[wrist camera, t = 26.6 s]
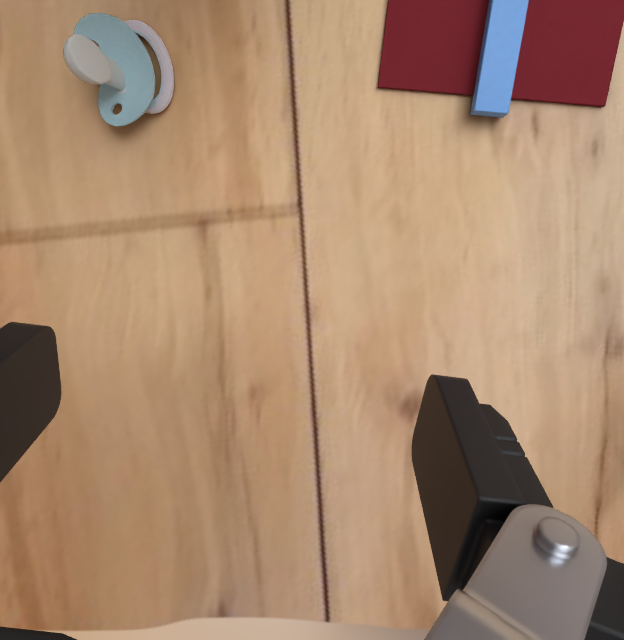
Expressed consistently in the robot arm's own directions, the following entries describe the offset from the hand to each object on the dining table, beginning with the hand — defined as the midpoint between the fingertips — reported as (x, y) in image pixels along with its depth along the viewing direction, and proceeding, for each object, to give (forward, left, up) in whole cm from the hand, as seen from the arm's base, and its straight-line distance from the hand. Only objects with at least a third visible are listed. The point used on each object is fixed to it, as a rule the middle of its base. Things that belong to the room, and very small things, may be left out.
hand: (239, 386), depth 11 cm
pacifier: (-16, +12, -28) cm, 34 cm away
